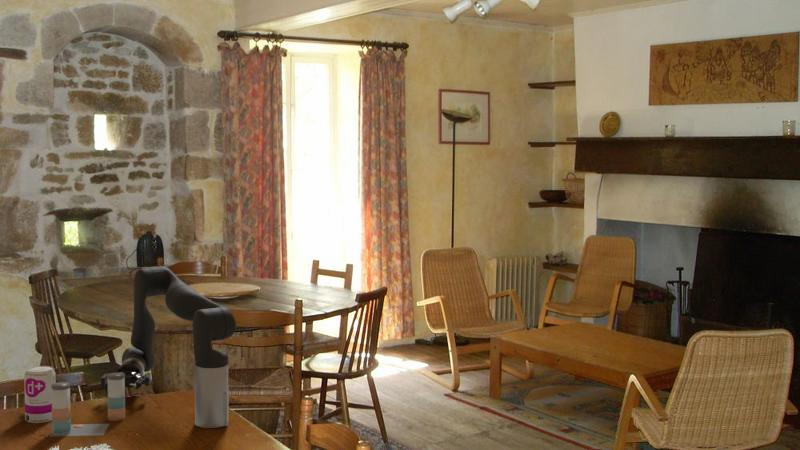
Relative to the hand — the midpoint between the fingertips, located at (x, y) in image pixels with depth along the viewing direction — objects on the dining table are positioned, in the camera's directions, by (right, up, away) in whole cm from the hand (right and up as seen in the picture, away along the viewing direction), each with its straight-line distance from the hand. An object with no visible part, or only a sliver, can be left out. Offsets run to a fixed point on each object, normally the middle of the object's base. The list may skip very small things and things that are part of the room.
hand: (122, 386), depth 272 cm
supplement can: (-20, -8, -12) cm, 24 cm away
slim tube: (+1, -8, -10) cm, 13 cm away
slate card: (-5, -9, -21) cm, 23 cm away
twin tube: (-9, -8, -24) cm, 27 cm away
